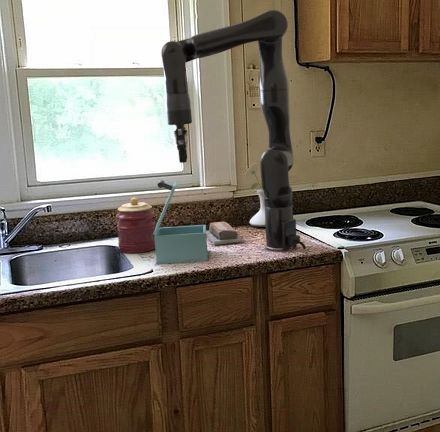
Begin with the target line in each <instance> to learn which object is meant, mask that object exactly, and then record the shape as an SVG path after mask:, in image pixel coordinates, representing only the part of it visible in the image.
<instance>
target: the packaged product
mask: <svg viewBox="0 0 440 432" xmlns="http://www.w3.org/2000/svg"><path fill="white" fill-rule="evenodd" d="M238 234H239V233H238V232H237V230H235V228H233V226H231V225H230V224H229V223H228V222H226V221H215V222H210V223H209V230H206V236H207V238H208V240H209V241H210V242H211V243H212V244H213V245H214V246H219V245H227V244H228V245H229V244H237V243H243V239H242V238H241V237H240V236H239V235H238Z"/></svg>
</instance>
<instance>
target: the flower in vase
mask: <svg viewBox="0 0 440 432" xmlns="http://www.w3.org/2000/svg"><path fill="white" fill-rule="evenodd" d="M259 168H260V164H259V163H258V162H257V161H254V163H253V162H252V163H251V164H250V165H249V167H247V168H246V172H245V173H244V174H243V177H244V179H245V180H247V181H250V180H252V179H253V178H254V177H255V178H256V181H257V182H254V183H252V185H251V186H250V189H252V190H255V189H257V187H258V186H259V188H260V189H257V190H255V191H256V193H257V195H258V197H259V203H260V208H259V210H258V212H256V213H255V214H254V215H253V216H252V217H251V219H250V220H249V224H250V225H251V226H253V227H259V228H266V226H265V203H264V191H263V189H262V183H261V182H260V181H259V178H258V176H257V173H258V171H259Z"/></svg>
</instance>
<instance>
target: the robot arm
mask: <svg viewBox="0 0 440 432" xmlns="http://www.w3.org/2000/svg"><path fill="white" fill-rule="evenodd" d="M288 26H289V23H288V18H287V17H286V15H285V14H284V12H282V11H280V10H278V9H268V10H265V11H263V12H262V13H261V14H259V15H257V16H255V17H252V18H250V19H248V20H245V21H242V22H240V23H239V22H238V23H236V24H232V25H229V26H224V27H220V28H216V29H212V30H208V31H205V32H201V33H197V34H195V35H193V36H191V37H189V38H185V39H181V40H177V41H176V40H170V41H167V42H166V43H164V45H163V46H162V47H161V52H160V53H161V60H162V67H163V74H164V81H163V84H164V94H165V100H164V101H165V112H166V121H167V125H168V126H175V130H173V134H174V138H175V145H176V150H177V151H178V160H179V163H180V164H183V163H187V161H188V151H187V147H188V145H187V144H188V129H186V127H185V125H189V124H192V123H193V118H192V117H193V115H192V109H191V108H192V105H191V98H190V93H189V83H188V78H187V63H189V62H191V61H194V60H198V59H202V58H206V57H211V56H214V55H217V54H220V53H223V52H226V51H229V50H232V49H234V48H237V47H239V46H243V45H245V44H250V43H253V42H254V43H255V42H257V47H258V55H259V72H258V73H259V101H260V102H259V103H260V109H261V113H262V116H263V119H264V122H265V125H266V128H267V135H268V136H267V137H268V149H266V150H265V151H264V152H263V153H262V154H261V157H260V161H259V168H260V169H259V171H260V181H261V182H260V183H262V190H263V191H264V203H265V226H266V227H265V248H266V250H268V251H272V252H273V251H274V252H287V251H290V250H294V249H296V248H297V247H298V245H300V246H301V247H302V250H307V247H306V244H305V243H304V242H303V241H301V235H300V234H299V235H298V234H297V220H296V218H294V203H293V201H294V200H293V188H292V186H291V185H290V177H289V172H290V171H291V169H292V168H293V166H294V151H293V145H292V139H291V131H290V130H291V128H290V127H291V125H290V123H291V120H290V119H291V118H290V117H291V116H290V89H289V80H288V76H287V72H286V68H285V64H284V58H283V38H284V36H285V35H286V33H287V30H288Z"/></svg>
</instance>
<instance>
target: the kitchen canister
mask: <svg viewBox="0 0 440 432" xmlns="http://www.w3.org/2000/svg"><path fill="white" fill-rule="evenodd" d="M152 208H153V206H152V205H151V204H149V203H147V202H142V201H139V199H138V198H137V197H131V198H130V202H128V203H124V204H121V206H120V207H118V208H117V211H118V213H117V214H116V215H115V218H116V219H117V224H116V228H117V229H116V230H117V241H118V243H117V245H118V249H119V251H120V252H121V253H126V254H127V253H128V254H137V253H145V252H149V251H153V250H155V237H154V236H155V235H153V233H154V231H155V228H156V225H157V222H156V221H155V218H154V216H156V212H154V211H153V210H152Z"/></svg>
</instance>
